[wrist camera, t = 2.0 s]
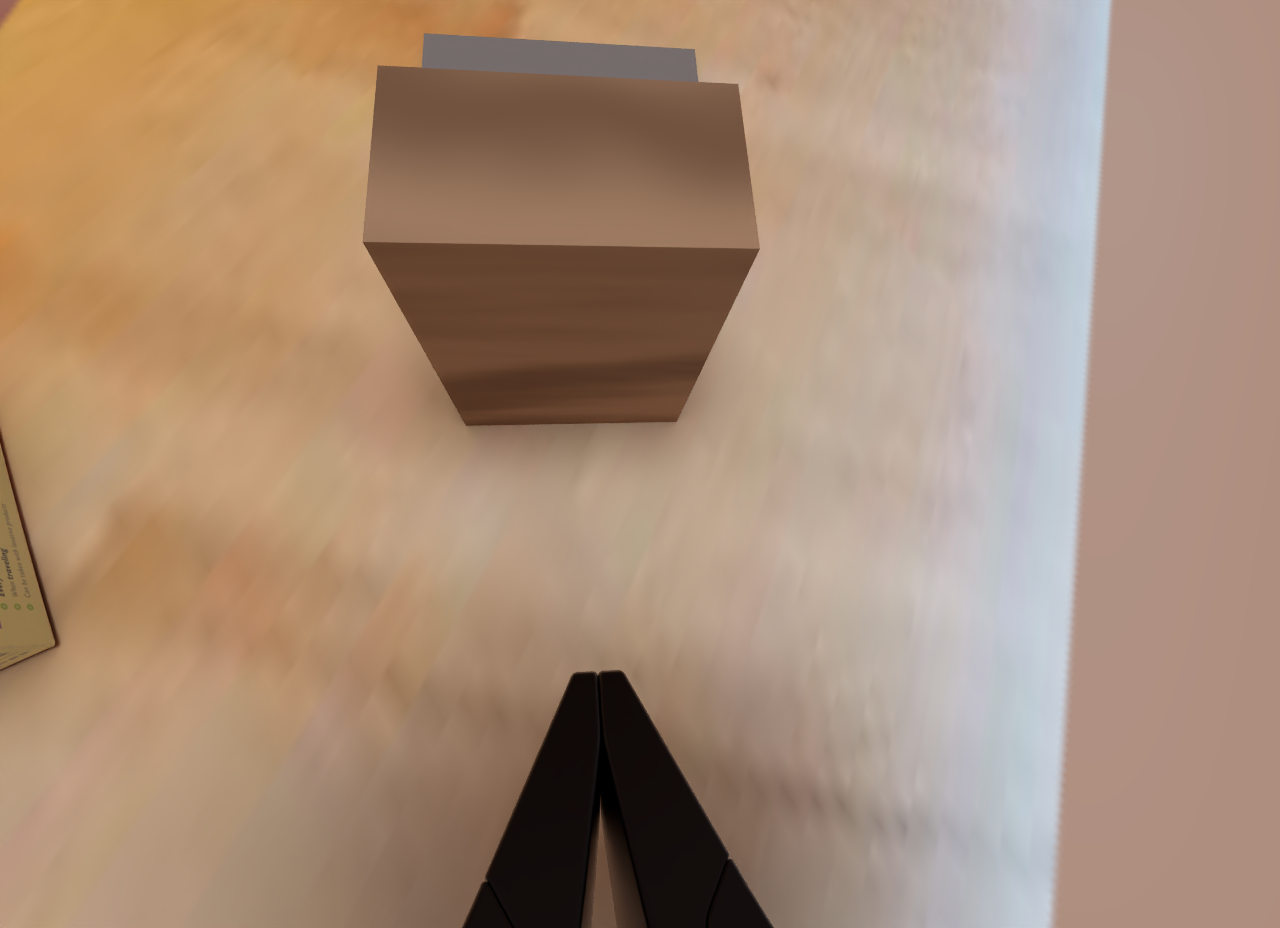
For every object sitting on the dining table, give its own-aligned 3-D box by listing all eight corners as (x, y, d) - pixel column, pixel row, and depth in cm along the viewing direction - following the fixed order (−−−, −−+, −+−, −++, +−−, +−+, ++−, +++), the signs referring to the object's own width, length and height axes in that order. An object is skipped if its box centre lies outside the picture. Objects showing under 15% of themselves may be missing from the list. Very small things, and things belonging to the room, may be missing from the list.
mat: (719, 300, 27) (727, 282, 25) (411, 298, 25) (401, 279, 24) (693, 56, 31) (698, 28, 29) (425, 41, 29) (418, 10, 28)
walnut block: (676, 421, 25) (759, 248, 13) (466, 425, 24) (362, 241, 12) (668, 320, 26) (738, 84, 15) (468, 319, 25) (378, 65, 14)
